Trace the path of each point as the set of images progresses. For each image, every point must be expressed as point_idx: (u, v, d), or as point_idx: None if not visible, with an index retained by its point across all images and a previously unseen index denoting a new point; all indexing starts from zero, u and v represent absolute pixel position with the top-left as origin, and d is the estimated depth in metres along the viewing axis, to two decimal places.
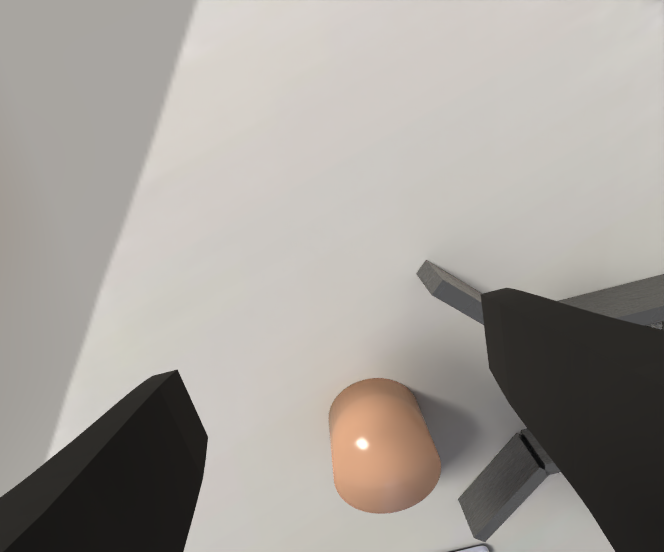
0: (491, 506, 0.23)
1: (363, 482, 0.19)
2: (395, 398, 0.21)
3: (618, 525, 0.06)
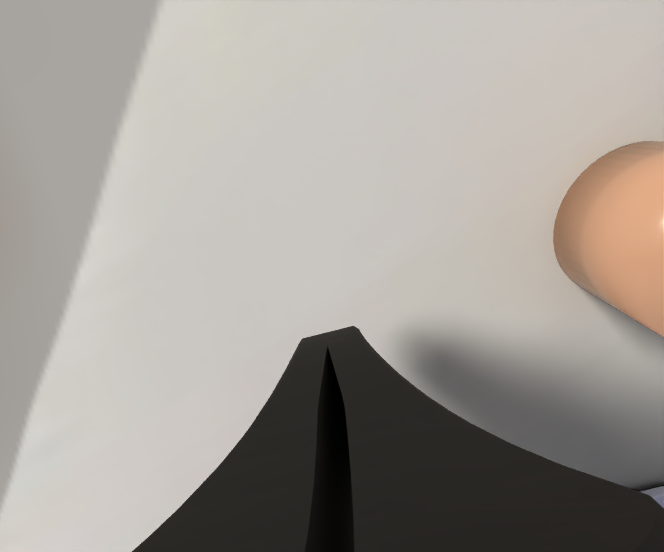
0: None
1: None
2: None
3: None
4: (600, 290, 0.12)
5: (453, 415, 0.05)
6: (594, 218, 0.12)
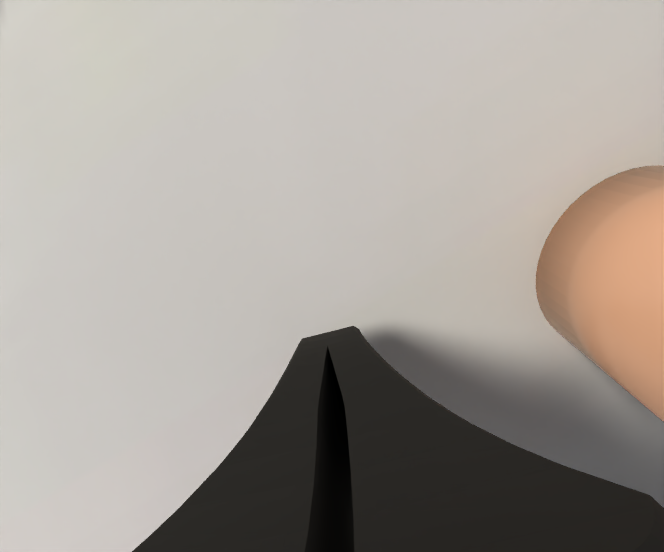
0: None
1: None
2: None
3: None
4: (593, 357, 0.09)
5: (453, 415, 0.05)
6: (585, 268, 0.09)
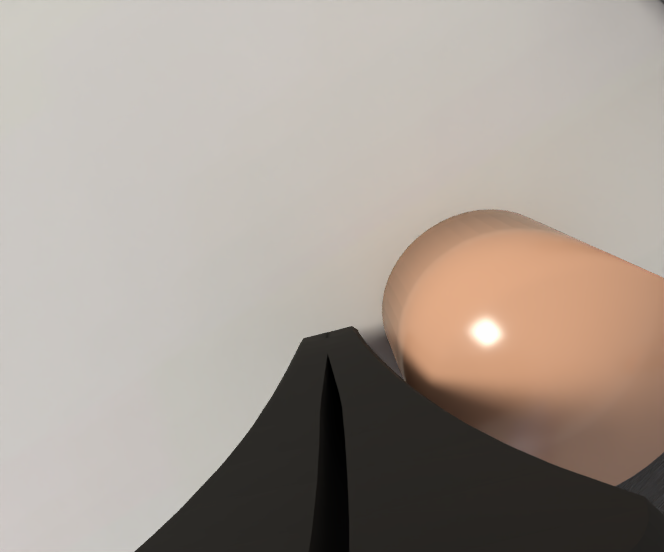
0: None
1: (500, 421, 0.07)
2: (558, 232, 0.09)
3: None
4: None
5: (450, 416, 0.05)
6: (401, 316, 0.09)
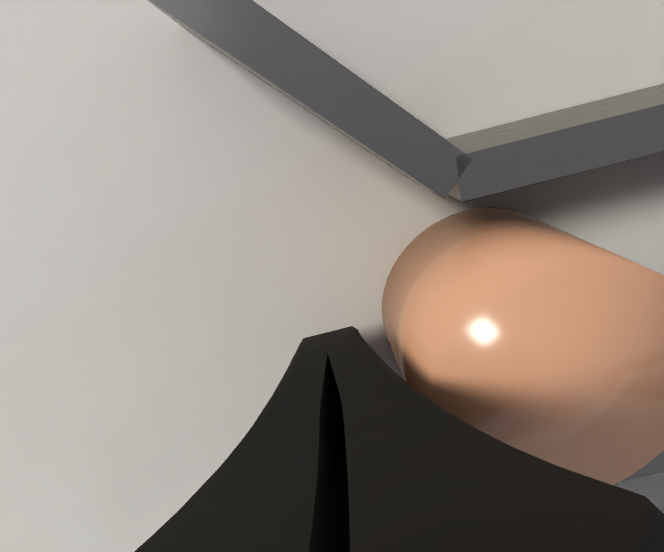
0: None
1: (500, 419, 0.07)
2: (557, 230, 0.09)
3: None
4: None
5: (450, 416, 0.05)
6: (401, 314, 0.09)
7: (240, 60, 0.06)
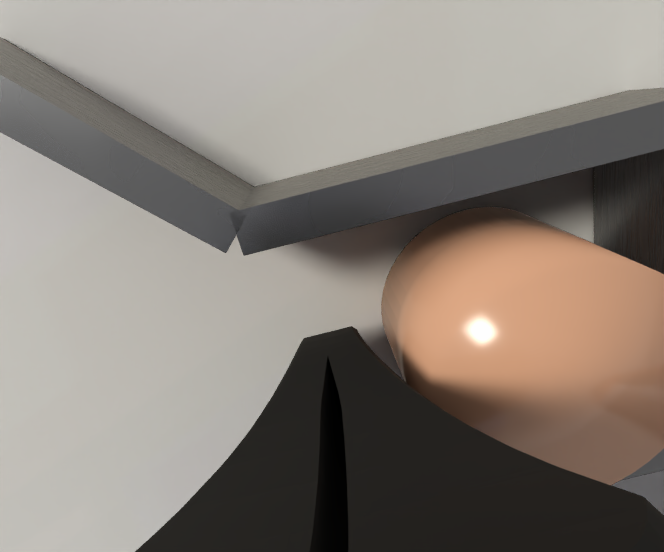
0: None
1: (499, 418, 0.07)
2: (556, 228, 0.09)
3: None
4: None
5: (449, 416, 0.05)
6: (400, 314, 0.09)
7: None
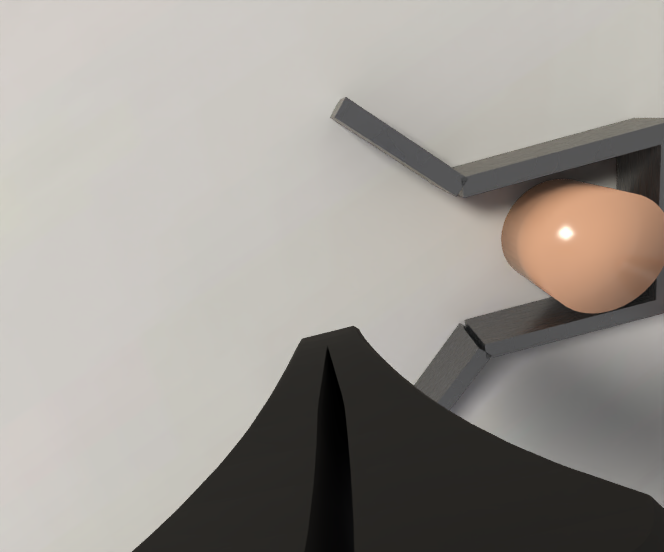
0: None
1: (578, 266, 0.16)
2: None
3: None
4: (528, 276, 0.19)
5: (453, 415, 0.05)
6: (521, 230, 0.18)
7: (373, 142, 0.16)
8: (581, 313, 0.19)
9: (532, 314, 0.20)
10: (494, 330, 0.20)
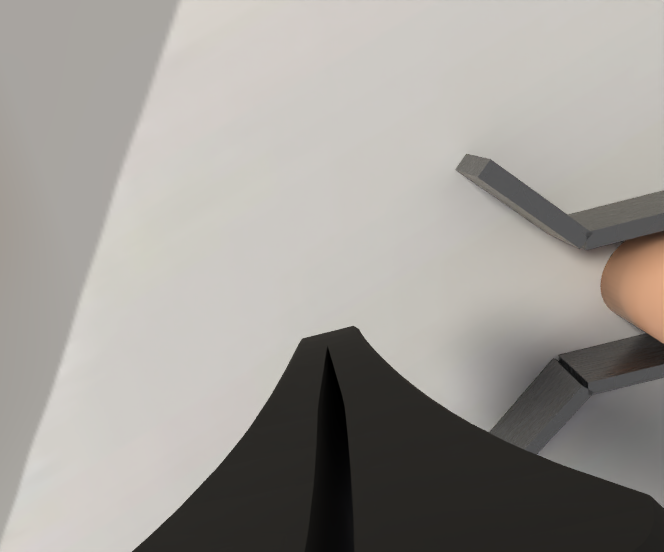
0: (528, 433, 0.22)
1: None
2: None
3: None
4: (632, 319, 0.20)
5: (453, 415, 0.05)
6: (630, 277, 0.19)
7: (510, 199, 0.17)
8: None
9: (627, 352, 0.21)
10: (594, 367, 0.21)
